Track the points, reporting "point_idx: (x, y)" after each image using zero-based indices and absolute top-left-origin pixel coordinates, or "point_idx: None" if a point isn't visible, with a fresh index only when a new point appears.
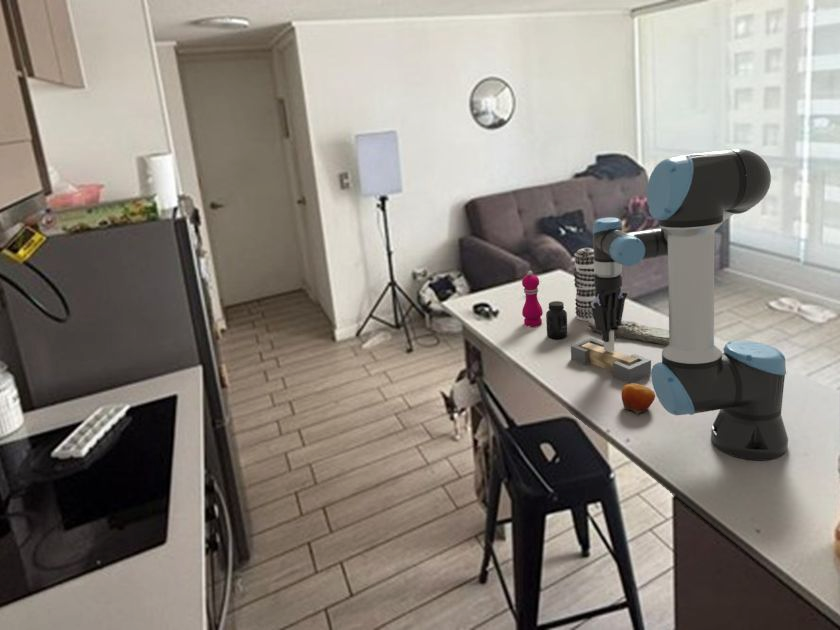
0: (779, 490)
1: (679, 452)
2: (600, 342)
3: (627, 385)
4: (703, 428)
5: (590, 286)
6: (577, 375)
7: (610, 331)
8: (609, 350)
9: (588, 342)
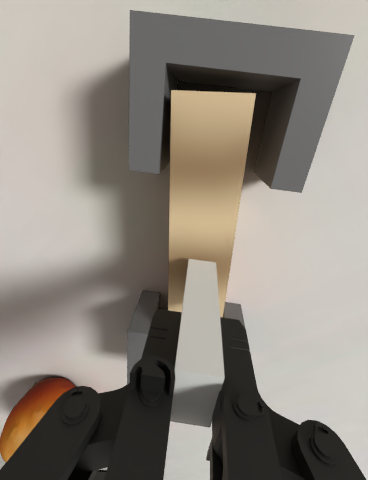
0: None
1: None
2: (301, 157)
3: (10, 446)
4: None
5: None
6: (61, 195)
7: (175, 418)
8: (183, 297)
9: (253, 93)
